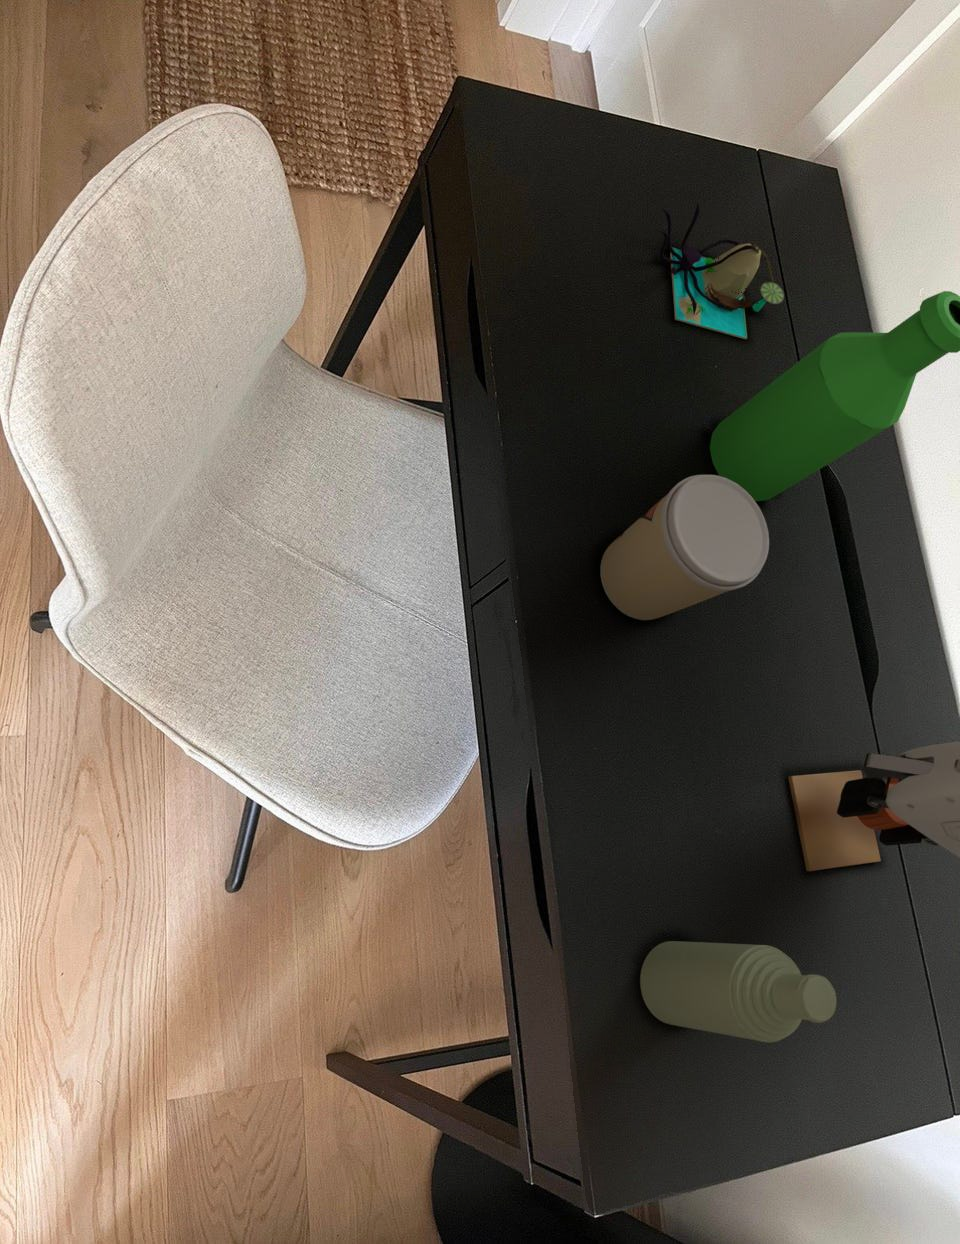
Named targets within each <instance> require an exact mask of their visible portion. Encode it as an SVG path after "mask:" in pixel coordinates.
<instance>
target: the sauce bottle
mask: <svg viewBox="0 0 960 1244" xmlns="http://www.w3.org/2000/svg"><path fill="white" fill-rule="evenodd" d="M639 984H640V985H639V986H640V992H641V997H642V999H643V1001H644V1003H645V1006H646V1007H647V1010H648V1011H649V1012H650V1013H651V1014H652V1015H653V1016H654V1017H655V1018H656V1019H658V1020H659V1021H660V1022H662V1023H664V1024H667V1025H671V1026H676V1027H680V1028H681V1027H682V1028H687V1029H692V1030H696V1031H697V1030H698V1031H702V1032H709V1033H712V1034H713V1033H714V1034H719V1035H725V1036H731V1037H735V1038H736V1037H737V1038H741V1039H745V1040H751V1041H757V1042H763V1043H776V1042H779V1041H781V1040H783V1039H786V1038H788V1037H789V1036H790V1035H792V1034H793V1033H794V1032H795V1031H796V1030H797V1029H798V1027H799V1026H800V1024H801V1022H802V1020H803V1021H804V1020H805V1021H809V1022H811V1023H816V1024H821V1023H825V1022H826V1021H828V1020H830V1019H831V1018H832V1017H833V1016H834V1014H835V1012H836V1009H837V1003H838V1002H837V995H836V991H835V989H834V987H833V985H832V983H831V982H830V980H828V979H827V978H826V977H825V976H823V975H822V974H821V975H820V974H813V973H811V974H806V975H805V974H802V973H801V970H800V969H799V967H798V966H797V964H796V962H795V961H794V960H793V959H792V958H791V957H790V956H788V955H787V954H786V953H784V952H783V951H782V950H780V949H779V948H777V947H774V946H772V945H768V944H748V943H727V942H726V943H724V942H703V941H679V940H670V941H663V942H661V943H659V944H657V945H656V946H654V947H653V948H652V949H651V950H650V951H649V953H648V954H647V955H646V957H645V959H644V961H643V964H642V966H641V970H640V977H639Z"/></svg>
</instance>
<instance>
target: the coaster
mask: <svg viewBox="0 0 960 1244" xmlns="http://www.w3.org/2000/svg"><path fill="white" fill-rule="evenodd" d="M787 778H788V779H787V780H788V783H789V789H790V794H791V799H792V803H793V804H792V805H793V809H794V813H795V819H796V824H797V829H798V835H799V839H800V844H801V850H802V855H803V861H804V865H805V870H806V872H813V871H821V870H828V869H836V868H842V867H850V866H857V865H863V864H865V865H866V864H872V863H878V862H879V863H880V862H881V861H882V859H881V855H880V854H881V853H880V851H879V845H878V840H877V836H876V830H873V829H870V828H868V827H866V826H865V825H864V824H863V823H862V822H861V821H860V820H859V818H858V817H857V816H854V817H844V818H843V817H841V816H840V815H838V814H837V809H838V806H839V802H840V799H841V798H840V796H841V792H842V789H843V788H844V785H845V783H846V782H847V781H850V780H856V779H862V778H864V776H863V771H862V770H861V769H860V770H858V769H857V770H847V771H837V772H836V771H835V772H834V771H833V772H824V773H823V772H821V773H813V774H803V775H802V774H801V775H789V776H788V777H787Z"/></svg>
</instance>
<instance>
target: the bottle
mask: <svg viewBox="0 0 960 1244" xmlns="http://www.w3.org/2000/svg"><path fill="white" fill-rule="evenodd" d="M959 352H960V295H959V294H957V293H956V292H953V291H950V290H943V291H941V292H938V293H936V294H934V295H931V296H929V297H927V298H925V299H923V300H922V301H921V304H920V305H919V310H917V311H916V312H915V313H913V314H912V315H910V316H909V317H907V318H906V319H905V320H903V321H902V322H901V323H899V324H898V325H896V326H895V327H893V329H891V330H890V331H888V332H867V331H866V332H863V331H862V332H860V331H859V332H858V331H857V332H856V331H855V332H854V331H849V332H846V331H845V332H838V333H836V334H834V335H832V336H830V337H829V338H826V339H825V340H824V341H823V342H822V343H820V345H818V346H817V347H815V348H814V349H812V351H810V352H809V353H808V354H806V355H805V356H803V357H802V358H801V359H800V360H799V361H797V362H796V363H795V364H794V365H792V366H790V367H789V368H788V369H786V371H784V372H783V373H782V374H780V375H779V376H778V377H776V379H774V380H773V381H771V382H770V383H769V384H768V385H766V386H765V387H764V388H763V389H761V390H759V392H757V393H756V394H754V396H752V397H751V398H750V399H749V400H747V401H746V402H744V403H743V404H742V405H741V406H740V407H738V408H737V409H736V410H735V411H733V412H732V413H731V414H729V415H728V416H727V417H725V418H724V419H723V420H721V421H720V422H719V423H718V424H717V426H716V428H715V429H714V430H713V431H712V433H711V438H710V444H709V451H710V456H711V462H712V464H713V467H714V469H715V470H716V473H717V476H721V477H724V478H727V479H729V480H731V481H733V482H735V483H736V484H738V485H739V486H741V487H742V488H743V489H744V490H745V491H746V492H747V493H748V494H749V495H750V496H751V497H752V498H753V499H754V501H755V502H762V501H763V502H765V501H769V500H771V499H773V498H775V497H776V496H778V495H779V494H781V493H782V492H785V491H786V490H788V489H790V488H791V487H792V486H795V485H796V484H798V483H799V482H801V481H803V480H804V479H806V478H808V477H809V476H812V475H813V474H814V473H816V472H817V471H819V470H821V469H823V468H825V467H826V466H827V465H829V464H831V463H833V462H834V461H836V460H837V459H839V458H840V457H842V456H844V455H846V454H847V453H850V452H851V451H852V450H854V449H856V448H857V447H859V446H860V445H862V444H864V443H865V442H867V441H870V439H872V438H874V437H875V436H877V435H879V434H880V433H882V432H884V431H885V430H887V429H888V428H890V427H892V426H893V425H895V424H897V422H899V420H900V418H901V416H902V414H903V413H904V411H905V408H906V405H907V402H908V400H909V397H910V394H911V391H912V388H913V385H914V383H915V380H916V377H917V374H918V373H921V371H923V370H924V369H926V368H927V367H929V366H931V365H932V364H934V363H935V362H937V361H938V360H940V359H942V358H943V357H944V356H946V355H948V354H949V353H952V354H953V353H954V354H958V353H959Z"/></svg>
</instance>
